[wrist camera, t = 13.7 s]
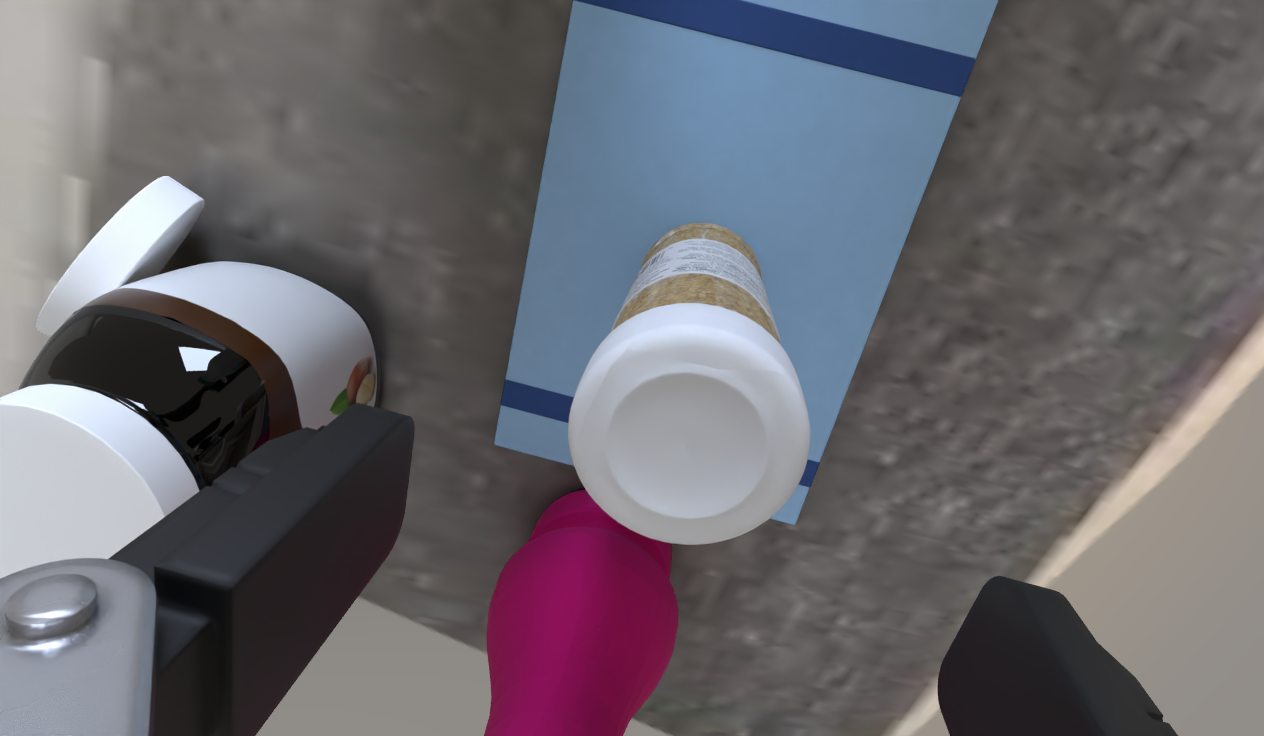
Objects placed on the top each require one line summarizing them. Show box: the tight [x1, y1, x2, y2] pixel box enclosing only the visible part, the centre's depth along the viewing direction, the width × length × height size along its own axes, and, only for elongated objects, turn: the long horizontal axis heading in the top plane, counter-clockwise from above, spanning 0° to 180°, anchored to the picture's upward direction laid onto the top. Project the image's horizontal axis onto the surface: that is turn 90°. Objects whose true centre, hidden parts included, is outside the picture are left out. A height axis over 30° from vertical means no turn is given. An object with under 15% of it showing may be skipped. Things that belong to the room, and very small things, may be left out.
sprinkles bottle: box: [568, 223, 810, 545], centre depth 19 cm, size 5×5×13 cm
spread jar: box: [0, 176, 381, 579], centre depth 23 cm, size 12×11×12 cm
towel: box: [494, 0, 998, 525], centre depth 25 cm, size 20×13×1 cm, turn 167°
